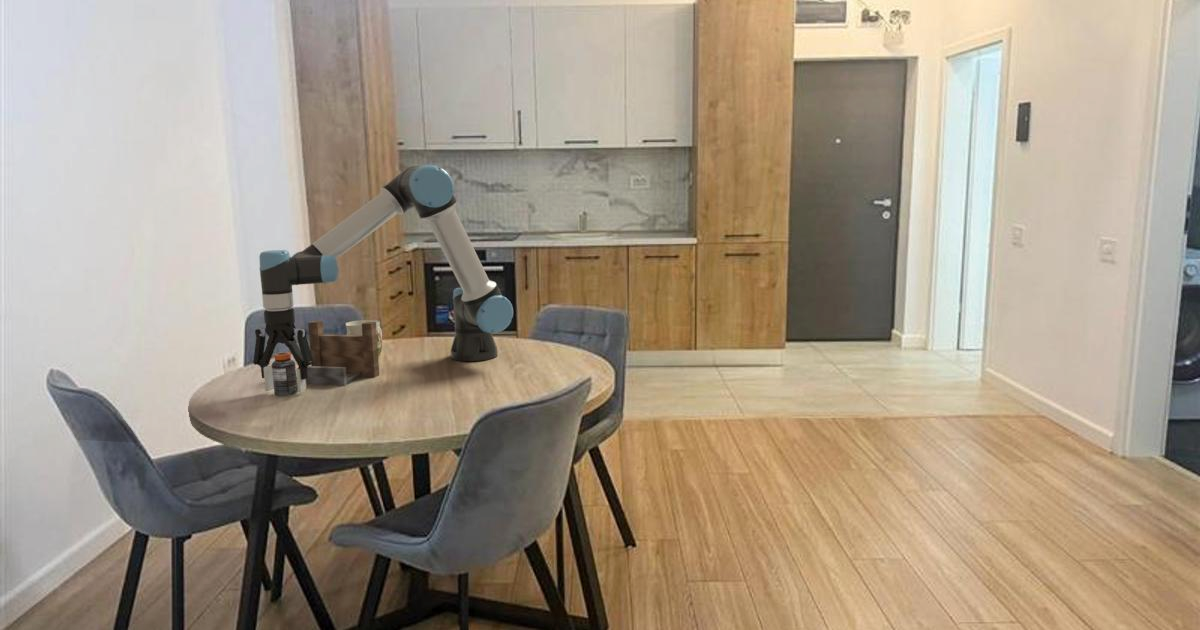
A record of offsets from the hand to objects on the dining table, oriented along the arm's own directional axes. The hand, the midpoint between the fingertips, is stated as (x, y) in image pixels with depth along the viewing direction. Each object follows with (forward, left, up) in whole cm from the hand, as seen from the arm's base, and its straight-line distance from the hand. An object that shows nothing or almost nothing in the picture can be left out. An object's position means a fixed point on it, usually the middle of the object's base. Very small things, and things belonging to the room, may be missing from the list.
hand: (285, 390), depth 212 cm
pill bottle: (0, 0, -1) cm, 1 cm away
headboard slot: (-6, -16, -1) cm, 17 cm away
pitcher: (-5, -37, -1) cm, 37 cm away
